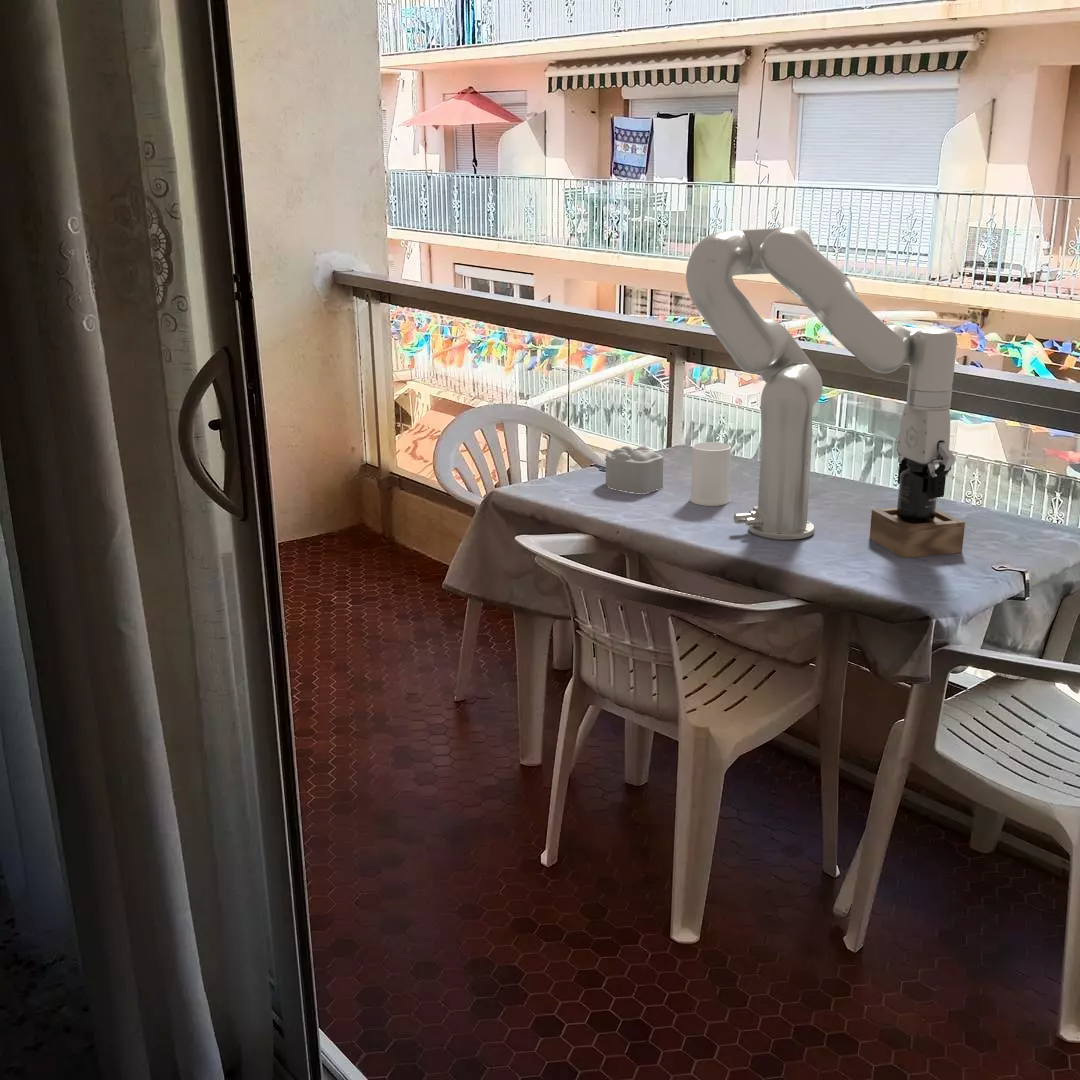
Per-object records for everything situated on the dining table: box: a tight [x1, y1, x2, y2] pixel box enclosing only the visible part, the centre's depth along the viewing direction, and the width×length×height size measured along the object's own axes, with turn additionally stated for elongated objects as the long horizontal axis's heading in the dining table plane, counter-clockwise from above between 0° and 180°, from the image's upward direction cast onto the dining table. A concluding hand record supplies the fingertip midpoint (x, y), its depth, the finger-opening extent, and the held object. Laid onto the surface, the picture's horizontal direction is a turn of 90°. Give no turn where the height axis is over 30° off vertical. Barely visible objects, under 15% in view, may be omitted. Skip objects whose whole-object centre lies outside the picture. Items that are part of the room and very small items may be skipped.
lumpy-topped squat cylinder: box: [605, 445, 664, 493], centre depth 250 cm, size 10×13×9 cm
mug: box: [689, 441, 732, 507], centre depth 238 cm, size 12×8×12 cm
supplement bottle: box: [896, 459, 938, 524], centre depth 205 cm, size 7×7×12 cm
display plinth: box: [868, 506, 966, 559], centre depth 207 cm, size 12×12×6 cm
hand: (920, 490), depth 205 cm, fingers open, 9 cm apart
